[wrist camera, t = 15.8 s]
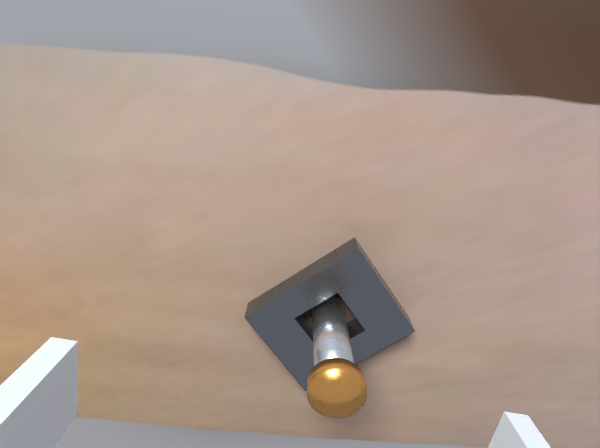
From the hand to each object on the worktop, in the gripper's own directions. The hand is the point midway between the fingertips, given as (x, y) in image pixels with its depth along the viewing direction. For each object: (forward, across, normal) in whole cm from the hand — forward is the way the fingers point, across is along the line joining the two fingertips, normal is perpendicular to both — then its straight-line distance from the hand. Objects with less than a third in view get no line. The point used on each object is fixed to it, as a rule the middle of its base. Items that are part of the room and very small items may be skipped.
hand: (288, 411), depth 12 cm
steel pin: (+29, +6, -13) cm, 32 cm away
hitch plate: (+29, +6, -13) cm, 32 cm away
